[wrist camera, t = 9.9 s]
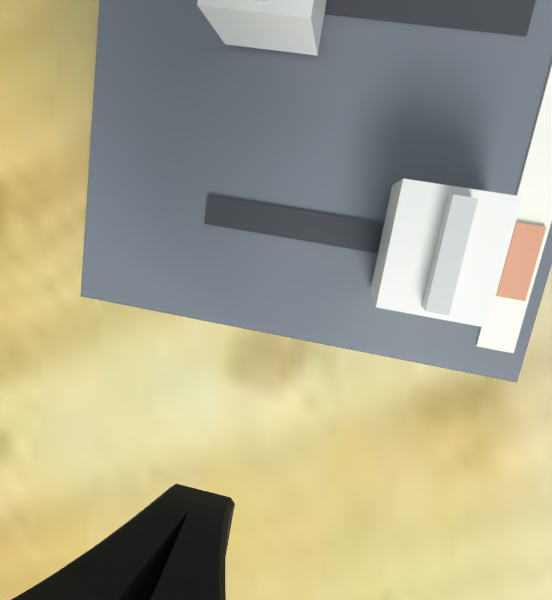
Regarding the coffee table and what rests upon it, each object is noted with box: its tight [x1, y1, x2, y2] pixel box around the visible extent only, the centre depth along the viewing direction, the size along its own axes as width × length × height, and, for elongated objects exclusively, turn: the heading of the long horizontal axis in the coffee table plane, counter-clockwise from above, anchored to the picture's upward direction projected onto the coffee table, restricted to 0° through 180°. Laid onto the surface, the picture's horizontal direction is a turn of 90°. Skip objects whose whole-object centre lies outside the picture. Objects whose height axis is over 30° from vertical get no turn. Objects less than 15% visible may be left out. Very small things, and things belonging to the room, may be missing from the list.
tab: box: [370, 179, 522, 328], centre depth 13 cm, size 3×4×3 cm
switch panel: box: [81, 0, 552, 382], centre depth 15 cm, size 16×22×2 cm
